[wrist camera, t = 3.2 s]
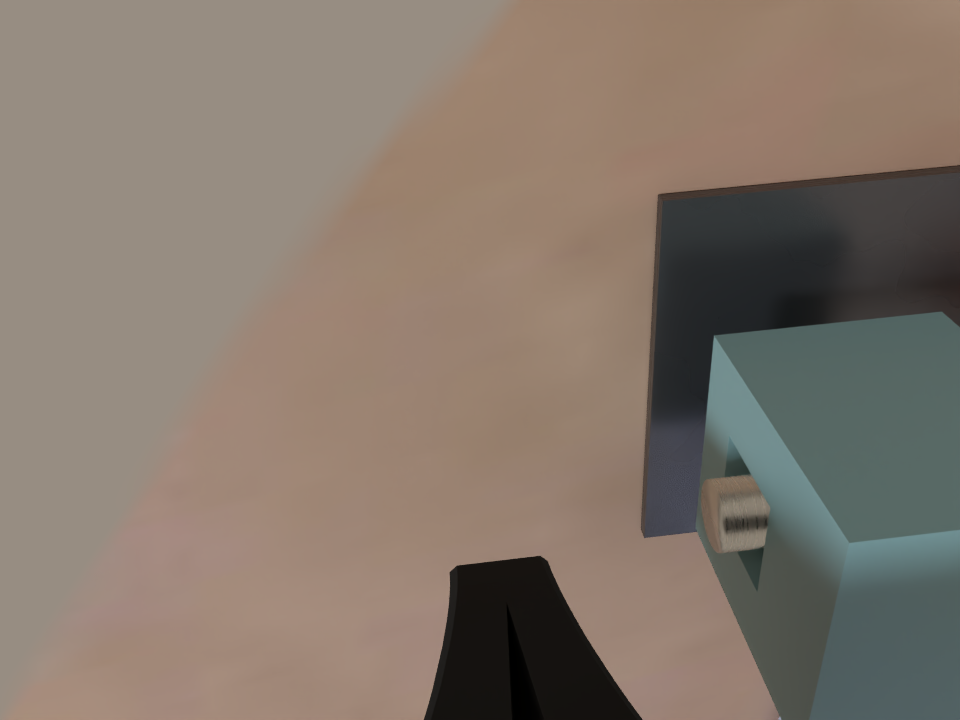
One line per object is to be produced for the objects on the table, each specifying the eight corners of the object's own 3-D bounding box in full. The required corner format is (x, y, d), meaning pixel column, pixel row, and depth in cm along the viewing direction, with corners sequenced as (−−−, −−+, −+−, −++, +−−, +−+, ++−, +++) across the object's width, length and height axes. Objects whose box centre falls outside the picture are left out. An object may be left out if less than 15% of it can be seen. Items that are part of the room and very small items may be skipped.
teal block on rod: (892, 504, 17) (1059, 726, 13) (695, 528, 17) (799, 760, 13) (941, 311, 15) (1163, 505, 11) (713, 335, 15) (849, 542, 11)
